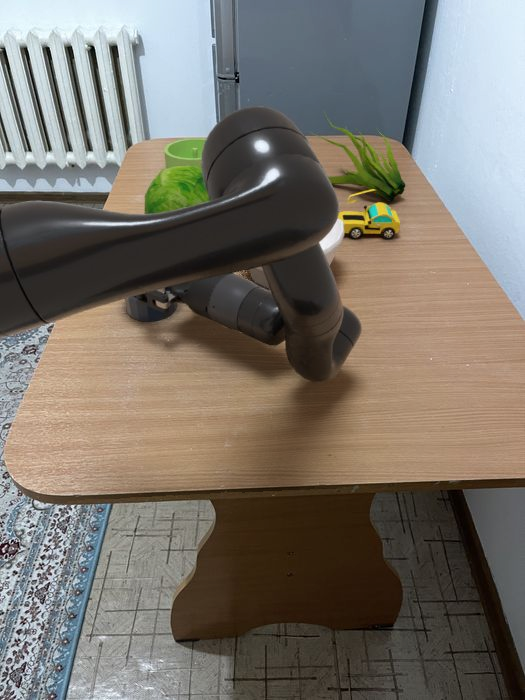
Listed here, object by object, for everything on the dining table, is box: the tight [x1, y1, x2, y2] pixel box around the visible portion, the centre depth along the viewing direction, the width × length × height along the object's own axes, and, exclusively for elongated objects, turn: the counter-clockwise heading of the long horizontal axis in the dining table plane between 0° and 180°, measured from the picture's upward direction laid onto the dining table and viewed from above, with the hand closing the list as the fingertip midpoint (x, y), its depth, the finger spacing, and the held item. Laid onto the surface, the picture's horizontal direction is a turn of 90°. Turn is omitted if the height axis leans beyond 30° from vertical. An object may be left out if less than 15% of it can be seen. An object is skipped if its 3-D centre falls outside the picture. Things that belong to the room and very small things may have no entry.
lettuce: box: [144, 166, 210, 214], centre depth 112 cm, size 15×22×15 cm
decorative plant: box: [307, 110, 406, 203], centre depth 130 cm, size 18×30×15 cm, turn 23°
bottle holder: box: [124, 287, 177, 323], centre depth 93 cm, size 8×8×4 cm
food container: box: [163, 137, 207, 169], centre depth 134 cm, size 25×15×13 cm, turn 74°
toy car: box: [338, 189, 401, 240], centre depth 113 cm, size 12×8×8 cm, turn 89°
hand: (148, 264), depth 89 cm, fingers open, 8 cm apart
